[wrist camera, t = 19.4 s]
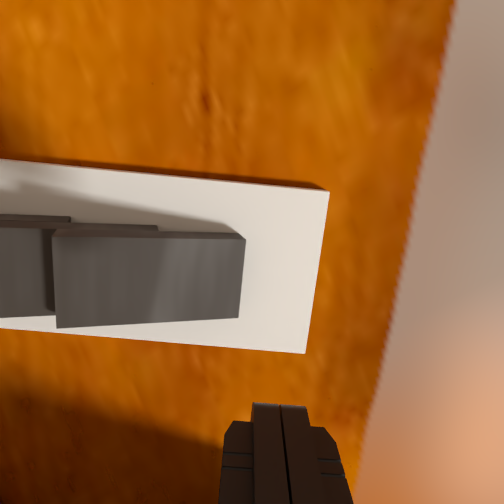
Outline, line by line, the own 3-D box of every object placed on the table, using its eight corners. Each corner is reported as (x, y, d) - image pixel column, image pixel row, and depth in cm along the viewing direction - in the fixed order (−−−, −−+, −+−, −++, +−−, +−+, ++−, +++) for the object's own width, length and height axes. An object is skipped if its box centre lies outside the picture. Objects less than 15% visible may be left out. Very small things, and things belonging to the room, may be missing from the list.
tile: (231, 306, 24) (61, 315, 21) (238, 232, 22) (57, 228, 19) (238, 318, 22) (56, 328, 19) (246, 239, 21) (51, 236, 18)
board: (-101, 311, 25) (-115, 318, 24) (-132, 145, 22) (-149, 145, 21) (302, 346, 26) (304, 353, 25) (326, 190, 23) (329, 192, 22)
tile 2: (154, 299, 24) (-30, 306, 20) (156, 224, 22) (-40, 219, 19) (156, 310, 22) (-42, 320, 19) (159, 231, 21) (-54, 226, 18)
